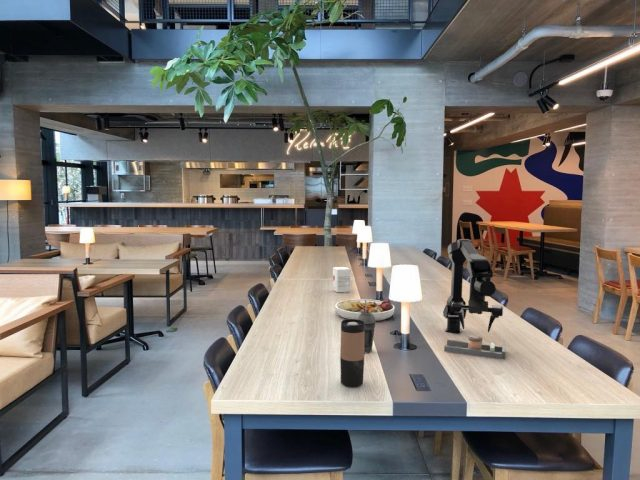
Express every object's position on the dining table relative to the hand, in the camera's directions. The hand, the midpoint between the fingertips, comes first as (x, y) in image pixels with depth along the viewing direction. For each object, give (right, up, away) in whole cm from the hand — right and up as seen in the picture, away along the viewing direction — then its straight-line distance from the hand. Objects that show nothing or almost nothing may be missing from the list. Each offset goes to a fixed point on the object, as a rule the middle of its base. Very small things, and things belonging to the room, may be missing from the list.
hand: (475, 330), depth 175 cm
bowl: (-38, -4, +55) cm, 67 cm away
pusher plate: (+6, -9, -2) cm, 11 cm away
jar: (0, -9, +1) cm, 9 cm away
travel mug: (-50, -11, -30) cm, 59 cm away
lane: (0, -8, +1) cm, 9 cm away
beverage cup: (-43, -8, +1) cm, 43 cm away
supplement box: (-47, +2, +112) cm, 121 cm away
